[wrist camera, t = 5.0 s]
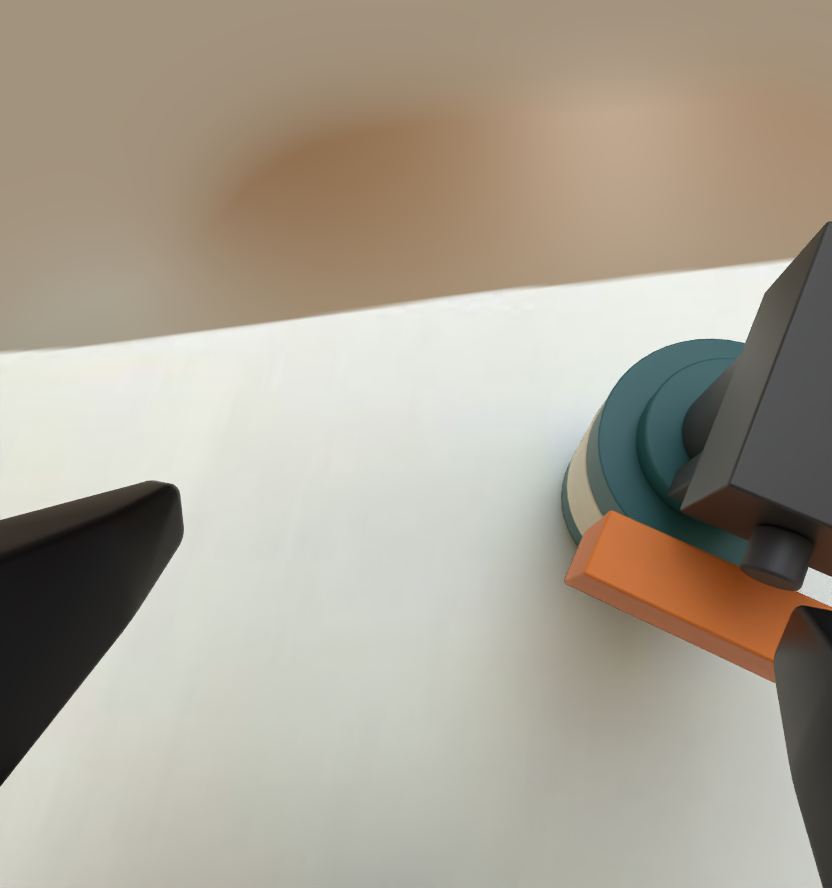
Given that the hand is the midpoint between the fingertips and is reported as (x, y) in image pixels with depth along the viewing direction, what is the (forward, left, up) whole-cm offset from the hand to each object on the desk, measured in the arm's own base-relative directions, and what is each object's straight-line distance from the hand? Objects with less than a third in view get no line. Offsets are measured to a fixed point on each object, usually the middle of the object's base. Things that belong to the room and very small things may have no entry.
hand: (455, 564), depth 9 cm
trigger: (-3, -4, -6) cm, 8 cm away
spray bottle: (-1, -8, -16) cm, 17 cm away
